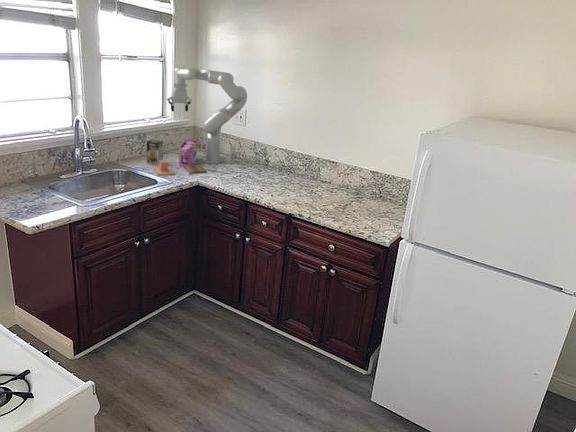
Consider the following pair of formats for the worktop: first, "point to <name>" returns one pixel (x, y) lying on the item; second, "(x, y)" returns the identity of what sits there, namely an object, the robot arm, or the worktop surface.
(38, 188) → the worktop surface
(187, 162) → the gum box
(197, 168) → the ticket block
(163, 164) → the stub
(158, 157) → the coffee box
